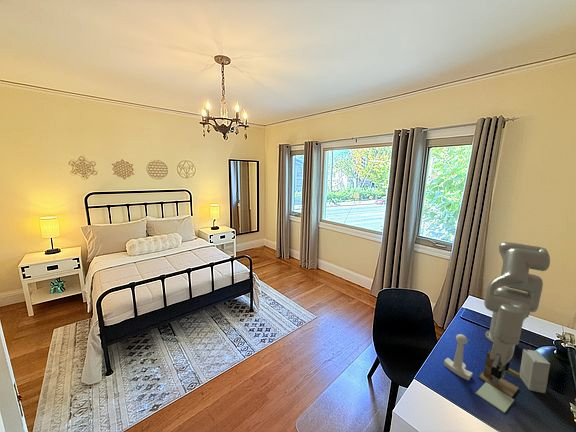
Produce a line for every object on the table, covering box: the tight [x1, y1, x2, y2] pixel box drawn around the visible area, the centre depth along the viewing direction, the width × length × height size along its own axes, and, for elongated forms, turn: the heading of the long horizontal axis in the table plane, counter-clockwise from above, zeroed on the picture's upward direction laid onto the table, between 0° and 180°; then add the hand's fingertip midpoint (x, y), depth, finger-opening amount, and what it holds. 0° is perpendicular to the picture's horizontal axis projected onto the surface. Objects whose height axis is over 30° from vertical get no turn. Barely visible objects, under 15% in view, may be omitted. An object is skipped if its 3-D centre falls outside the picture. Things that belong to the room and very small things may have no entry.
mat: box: [475, 381, 515, 414], centre depth 104 cm, size 10×10×1 cm
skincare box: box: [518, 348, 551, 394], centre depth 108 cm, size 8×6×15 cm
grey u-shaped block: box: [492, 361, 507, 385], centre depth 101 cm, size 7×2×8 cm, turn 121°
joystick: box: [443, 333, 473, 381], centre depth 116 cm, size 11×8×20 cm
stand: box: [478, 350, 520, 398], centre depth 109 cm, size 8×12×13 cm, turn 31°
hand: (499, 372), depth 101 cm, fingers closed on grey u-shaped block, 7 cm apart
